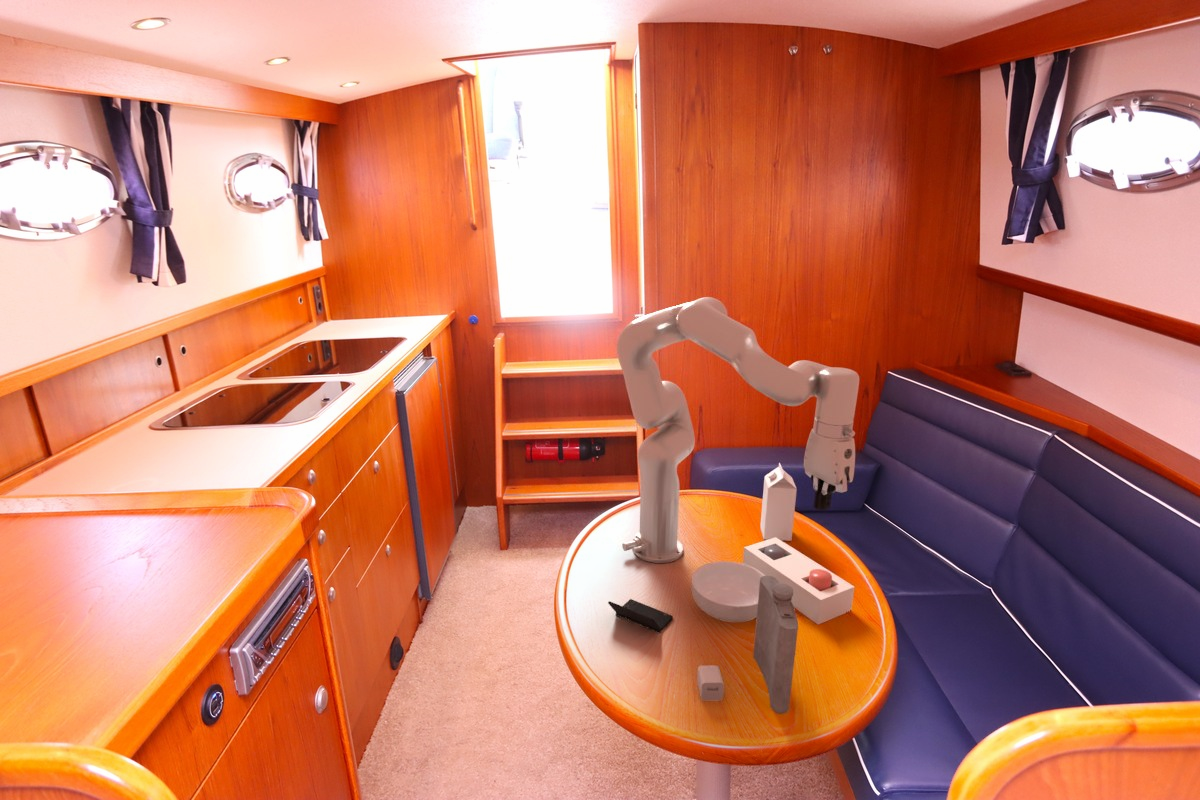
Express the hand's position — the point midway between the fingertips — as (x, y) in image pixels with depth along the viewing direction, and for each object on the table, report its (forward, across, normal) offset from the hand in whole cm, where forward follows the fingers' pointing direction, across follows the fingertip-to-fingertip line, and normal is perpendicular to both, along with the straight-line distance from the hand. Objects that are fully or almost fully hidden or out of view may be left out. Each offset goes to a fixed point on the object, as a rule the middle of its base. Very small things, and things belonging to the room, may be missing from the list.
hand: (821, 507), depth 141 cm
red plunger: (+20, -3, +1) cm, 20 cm away
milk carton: (+23, +25, -12) cm, 36 cm away
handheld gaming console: (+23, +10, +38) cm, 46 cm away
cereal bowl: (+23, +4, +19) cm, 30 cm away
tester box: (+22, +4, +1) cm, 23 cm away
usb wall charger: (+23, -12, +37) cm, 45 cm away
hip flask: (+22, -17, +26) cm, 38 cm away
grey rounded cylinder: (+22, +11, +1) cm, 24 cm away
